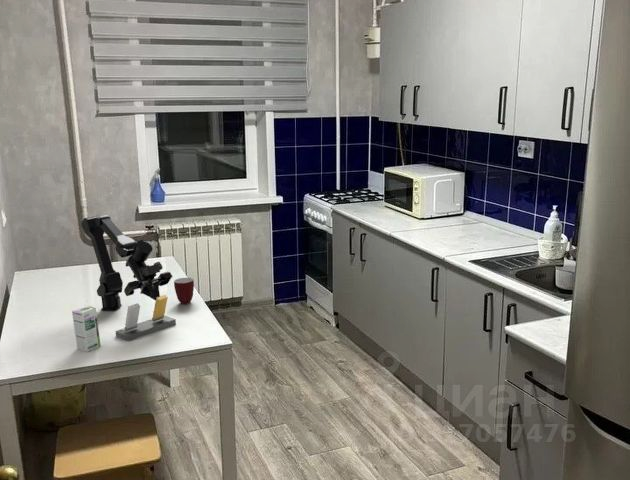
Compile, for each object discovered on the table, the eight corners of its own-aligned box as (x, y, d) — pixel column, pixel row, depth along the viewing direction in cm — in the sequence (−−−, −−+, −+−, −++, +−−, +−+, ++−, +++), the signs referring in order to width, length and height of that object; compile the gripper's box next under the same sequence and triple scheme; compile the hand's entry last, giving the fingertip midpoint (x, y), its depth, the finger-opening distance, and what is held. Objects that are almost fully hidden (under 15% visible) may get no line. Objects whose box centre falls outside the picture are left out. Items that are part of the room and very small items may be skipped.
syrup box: (87, 352, 210) (82, 312, 206) (76, 348, 213) (71, 309, 209) (100, 346, 214) (96, 307, 211) (90, 343, 217) (85, 304, 214)
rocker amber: (151, 319, 231) (155, 297, 226) (161, 316, 234) (165, 294, 229) (154, 322, 230) (158, 300, 225) (163, 319, 233) (168, 297, 228)
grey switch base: (128, 341, 218) (127, 335, 217) (116, 336, 223) (115, 330, 222) (175, 324, 233) (175, 318, 233) (163, 319, 238) (162, 314, 238)
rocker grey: (124, 329, 222) (127, 306, 217) (134, 326, 225) (138, 303, 220) (126, 332, 221) (130, 308, 216) (136, 328, 224) (140, 305, 219)
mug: (196, 306, 252) (194, 283, 250) (176, 309, 250) (174, 285, 248) (194, 298, 262) (192, 276, 260) (175, 301, 260) (173, 278, 258)
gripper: (125, 261, 221) (145, 296, 217) (167, 251, 235) (187, 283, 231) (115, 278, 228) (135, 312, 224) (157, 267, 242) (176, 299, 237)
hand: (159, 301), depth 229 cm, fingers closed
